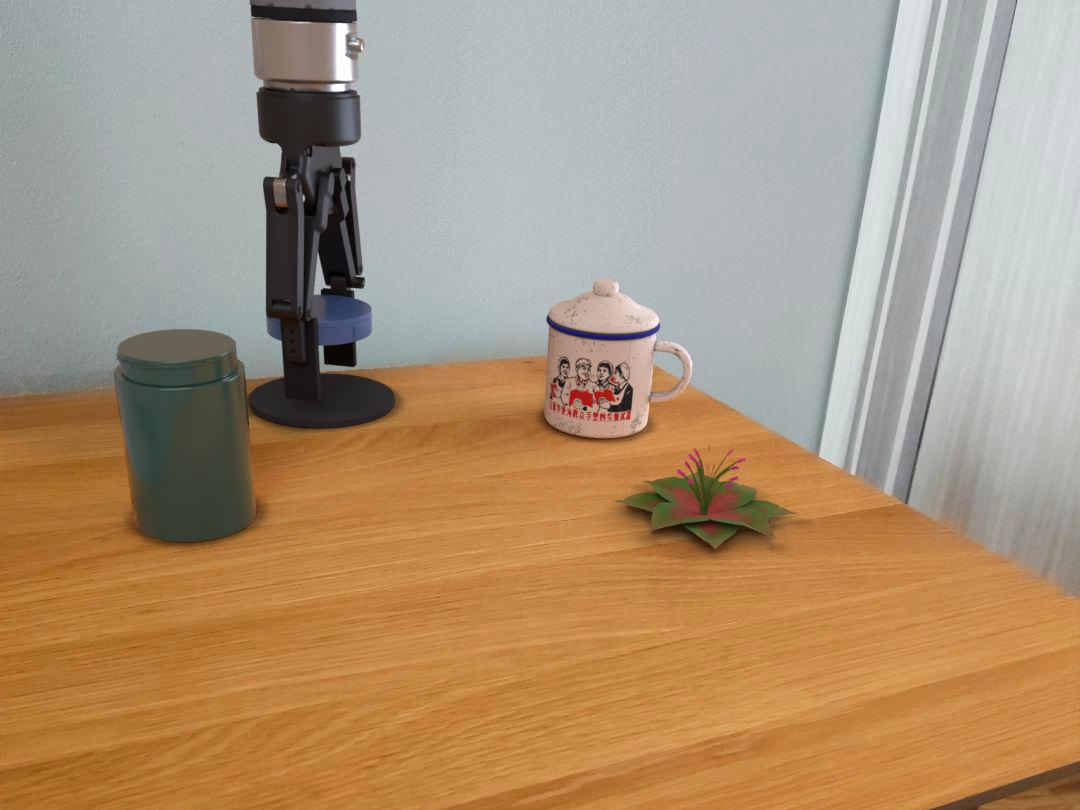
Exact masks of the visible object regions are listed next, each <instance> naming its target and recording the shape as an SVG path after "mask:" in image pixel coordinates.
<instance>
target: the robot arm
mask: <svg viewBox="0 0 1080 810" xmlns="http://www.w3.org/2000/svg"><path fill="white" fill-rule="evenodd" d="M249 6H250V17H251V18H250V23H251V24H250V28H251V43H252V44H251V45H252V60H253V74H254V76H255V77H256V78H257V79H258V80H261V81H262V85H263V86H260V87H259V88H258V91H256V92H255V93H256V108H257V122H258V123H257V125H258V135H259V136H260V138H261V139H262V140H263V141H264V142H267V143H269V144H276V145H278V146H279V147H280V150H281V155H280V166H279V173H278V176H264V178H263V180H262V190H263V198H264V205H265V315H266V314H267V317H268V318H277V319H280V325H281V340H282V341H281V352H282V367H283V368H282V369H283V378H284V385H285V398H291V399H301V400H310V401H319V400H320V399H321V383H320V373H321V368H320V367H321V366H320V346H319V344H318V324H317V318H313V317H311V316H312V306H313V296H314V295H315V286H316V273H317V265H318V259H319V263H320V267H321V272H322V276H323V281H324V284H325V286H326V287H323V288H321V289H320V295H337V296H345V297H350V298H355V290H353V289H357V290H358V289H359V290H364V289H365V286H366V278H365V276H362V274H363V272H364V265H363V257H362V255H363V254H362V243H361V234H360V233H361V232H360V224H359V222H360V221H359V213H358V201H357V192H356V190H357V189H356V167H357V163H356V159H355V157H354V156H353V157H352V156H342V154H341V149H340V147H347V146H353V145H355V144H357V143H358V142H359V141H360V140H361V138H362V117H361V95H360V94H358V91H357V90H355V89H352V84H354V83H356V82H357V81H358V80H360V79H359V78H360V75H359V74H360V73H359V72H360V71H359V54H360V53H363V52H364V50H365V48H366V47H365V46H366V44H365V42H364V39H362V38H360V37H358V13H357V0H249ZM328 287H329V288H328ZM355 299H356V298H355ZM288 300H289V301H290V302H289V301H288ZM322 347H323V349H322V350H323V351H322V352H323V365H326V366H335V367H336V366H337V367H347V368H355V367H356V366H358V360H357V359H358V357H357V341H356V342H351V343H346V344H339V345H325V346H322Z"/></svg>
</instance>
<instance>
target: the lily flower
mask: <svg viewBox="0 0 1080 810" xmlns="http://www.w3.org/2000/svg"><path fill="white" fill-rule="evenodd" d="M710 447H711V446H708V451H711V450H710ZM693 450H694V454H695V455H696V457H697V458H698V460H697V458H696V457H694V455H692V454H690V453H688V454H687V456H688V458H689V459H690V460H691V461H692V462H694V463H695V465H696V472H695V473H694V472H693V470H692V467H691V465H690V464H689V462H688V461H687V460H685V461H684V465H685V467H686V468H687V469H688V470H689V471H690V473H691V474H690V475H686V474H685V472H683V471H682V470H681V469H680V468H678V469H676V473H677V474H678V475H680V476H681V477H678V476H667V477H662V478H658V479H654V480H642V482H643V483H645V484H648V485H650V486H651V488H652V489H653V490H654V492H638V493H635V494H631V495H629V496H627V497H625V498H624V499H618V500H613V502H614V503H620V504H622V505H628V506H631V507H633V508H634V507H635V508H638V509H641V510H645V511H648V512H651V519H650V522H651V525H650V526H649V528H648V530H647V532H651V531H654V530H659V529H664V528H667V527H672V526H677V525H681V524H683V526H684V527H685V528H686V530H689V531H691V532H692V533H693V534H695V536H697V537H699V539H701V540H702V541H704V542H706V543H708V544H709V545H710V546H711V547H712V548H713V549H714V550H716V549H717V548H718V547H720V545H722V544H723V543H724V541H727V540H729V539H730V538H731V537H732V536H733V535H735V534H736V533H737V530H738V527H737V526H736V525H738V526H744V527H747V528H749V529H751V530H754V531H757V532H759V533H761V534H764V535H767V536H769V537H771V538H773V539H777V537H776V535H775V534H774V531H773V528H772V526H770V520H769V519H773V518H779V517H783V516H788V515H796V514H797V515H798V514H799V512H796V511H792V510H791V509H788V508H785V507H781V506H780V505H779V504H777V503H774V502H771V501H768V500H762V499H754V498H755V497H757V493H758V490H757V489H758V487H752V486H748V485H745V484H740V483H738V482H735V481H737V480H739V476H733V477H731V478H728V480H724V481H719V480H720V479H721V477H722V476H724V475H725V474H726V473H728V472H730V471H731V470H732V471H734V470H739V466H737V465H736V464H740V463H742V462H746V461H747V460H746V457H742V458H739V459H736V461H735V462H733V463H731V464H730V465H729V466H727V467H726V468H724V469H723V470H722V471H720V472H719V473H718V471H719V469H720V468H721V466H722V465H723V463H724V462H725V460H726V458H727V457H728V456H730V455H731V453H733V452H734V449H733V448H732V449H731V450H729V451H728V452H727V454H726V455H725V457H724V458H723V459H722V460H721V462H720V464H719V465H718V467H717V468H716V470H715V466H716V464H713V467H712V470H711V473H710V474H711V475H709V465H706V474H707V475H705V468H704V466H703V461H702V459H701V457H700V452H698V450H697V448H693ZM714 470H715V471H714ZM713 472H714V473H713ZM717 473H718V474H717ZM716 474H717V475H716Z"/></svg>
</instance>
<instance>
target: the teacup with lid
mask: <svg viewBox="0 0 1080 810" xmlns="http://www.w3.org/2000/svg"><path fill="white" fill-rule="evenodd" d="M592 289H593V290H591V291H586V292H583V293H581V294H579V295H578V296H576V297H574V298H572V299H567V300H562V301H559V302H557V303H556V304H554V305H552V306H551V307H550V309H549V310H548V312H547V315H546V324H547V325H548V334H547V335H548V339H547V355H546V372H545V390H544V391H545V392H544V393H545V395H544V409H543V410H544V412H543V414H544V418H545V420H546V422H547V423H548V424H549V425H550V426H552V427H553V428H554V429H556V430H559V432H560V431H561V432H563V433H566V434H568V435H569V434H570V435H573V436H577V437H583V438H591V439H617V438H618V439H619V438H624V437H628V436H632V435H634V434H637V433H639V432H640V431H642V430H644V428H646V426H647V424H648V420H649V411H650V403H667V402H670V401H673V400H674V399H676V398H677V397H679V396H680V395H681V394H682V393H683V392H684V390H685V389H686V388H687V386H688V385H689V382H690V380H691V377H692V373H693V361H692V358H691V355H690V353H689V352H688V351H687V349H685V347H683V346H682V345H680V344H678V343H675V342H672V341H666V340H657V333H658V332H659V331H660V329H661V323H660V319H659V316H658V314H657V313H656V312H655V310H653V309H651V308H649V307H648V306H645V305H643V304H640V303H637V302H635V300H633V299H632V298H631V297H630V296H628V295H626V294H624V293H621V292H619V289H620V287H619V283H618V282H617V281H616V280H614V279H609V278H599V279H596V280H595V281H594V282H593V286H592ZM656 352H662V353H668V354H672V355H674V356H675V357H677V358H678V359H679V360H680V362H681V363H682V368H683V370H682V371H683V372H682V376H681V378H680V380H679V382H678V383H677V384H676V385H675V386H674V387H672V388H671V389H669V390H665V391H652V382H653V373H654V372H653V371H654V362H655V353H656Z"/></svg>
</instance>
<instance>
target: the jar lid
mask: <svg viewBox="0 0 1080 810" xmlns="http://www.w3.org/2000/svg"><path fill="white" fill-rule="evenodd" d="M288 301H289V300H288ZM289 302H290V301H289ZM372 311H373V308H372V306H371V305H370V304H369V303H367V302H366V301H364V300H361V299H358V298H350V297H345V296H337V295H321V294H314V296H313V306H312V316H311V317H313V318H317V324H318V344H319V347H320V346H321V347H323V346H325V345H339V344H346V343H351V342H356V343H357V342H359V341H361V340H364V339H366V338H368V337H369V336H371V334H372V332H373V313H372ZM265 318H266V321H265V322H266V332H267V334H268V335H269V336H270V337H271V338H273V339H275V340H277V341H281V342H282V340H281V325H280V319H277V318H268V317H267V314H266V313H265Z"/></svg>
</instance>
